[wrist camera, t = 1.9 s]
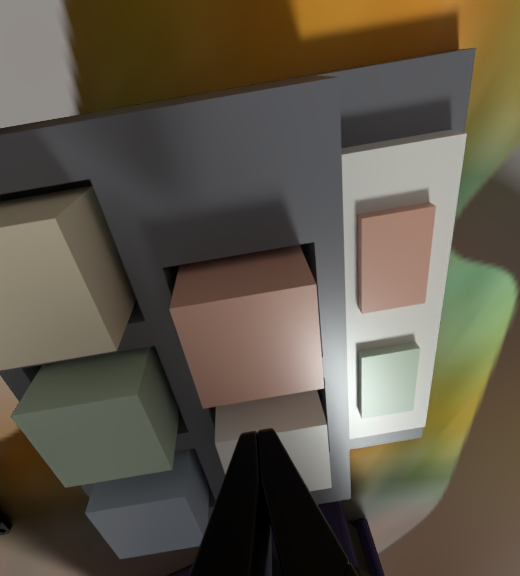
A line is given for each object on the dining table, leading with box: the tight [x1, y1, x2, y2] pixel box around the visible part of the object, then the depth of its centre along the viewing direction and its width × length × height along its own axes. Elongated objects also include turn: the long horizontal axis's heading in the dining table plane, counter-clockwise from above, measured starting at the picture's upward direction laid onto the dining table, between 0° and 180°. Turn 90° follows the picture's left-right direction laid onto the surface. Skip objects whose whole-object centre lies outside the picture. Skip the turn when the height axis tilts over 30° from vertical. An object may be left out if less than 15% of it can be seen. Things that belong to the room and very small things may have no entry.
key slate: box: [85, 448, 209, 559], centre depth 18 cm, size 4×4×3 cm
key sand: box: [0, 186, 137, 371], centre depth 11 cm, size 4×4×3 cm
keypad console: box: [0, 48, 476, 521], centre depth 17 cm, size 19×21×4 cm
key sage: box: [11, 346, 180, 488], centre depth 15 cm, size 4×4×3 cm
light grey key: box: [215, 390, 332, 491], centre depth 16 cm, size 4×4×3 cm
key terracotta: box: [169, 245, 324, 409], centre depth 13 cm, size 4×4×3 cm
